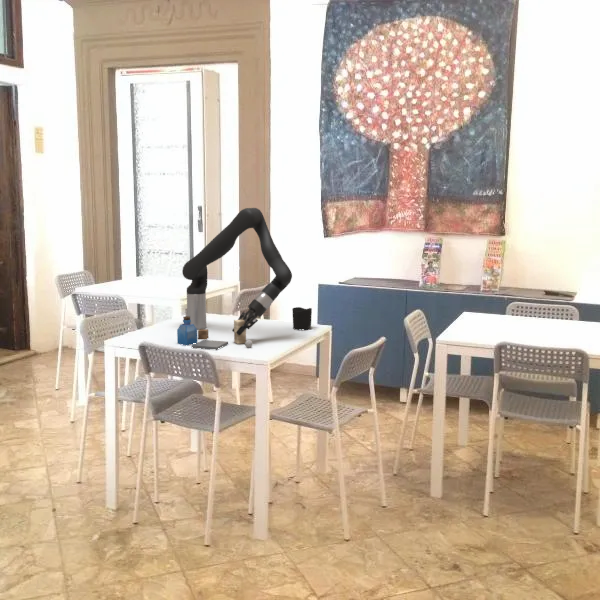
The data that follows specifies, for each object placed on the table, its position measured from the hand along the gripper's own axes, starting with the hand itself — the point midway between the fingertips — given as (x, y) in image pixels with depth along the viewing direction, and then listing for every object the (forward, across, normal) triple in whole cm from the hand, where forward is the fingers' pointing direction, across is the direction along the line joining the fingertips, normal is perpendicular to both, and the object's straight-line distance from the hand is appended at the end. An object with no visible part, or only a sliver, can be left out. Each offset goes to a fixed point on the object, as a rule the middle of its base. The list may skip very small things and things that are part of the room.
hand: (235, 332), depth 326 cm
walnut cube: (+10, -17, -3) cm, 20 cm away
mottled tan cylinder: (+2, 0, +5) cm, 5 cm away
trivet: (+12, 0, -5) cm, 13 cm away
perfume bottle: (+17, -10, -10) cm, 22 cm away
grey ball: (+1, +10, +4) cm, 11 cm away
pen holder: (-26, -17, +33) cm, 45 cm away
